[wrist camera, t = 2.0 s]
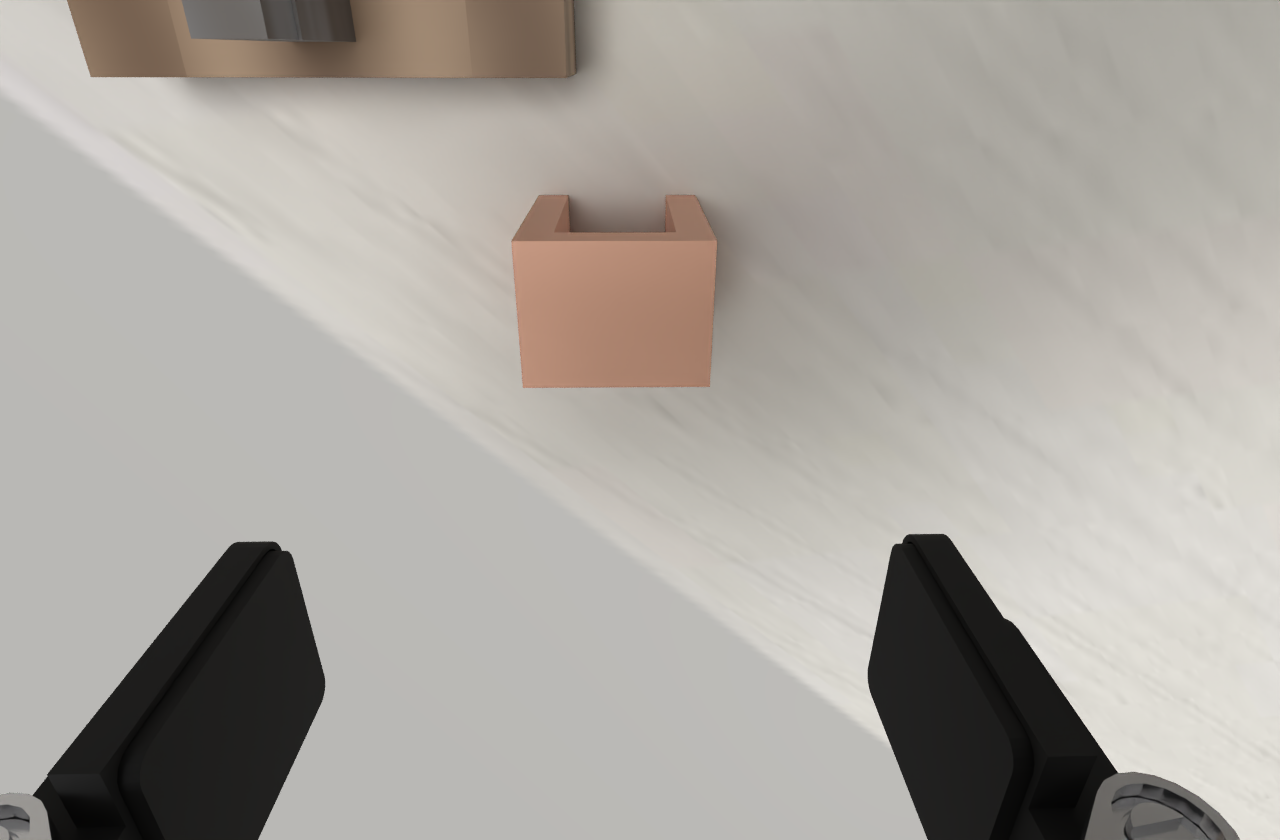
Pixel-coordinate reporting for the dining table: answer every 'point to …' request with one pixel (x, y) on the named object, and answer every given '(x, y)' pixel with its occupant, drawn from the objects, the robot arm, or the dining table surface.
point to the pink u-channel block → (615, 300)
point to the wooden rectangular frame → (327, 38)
